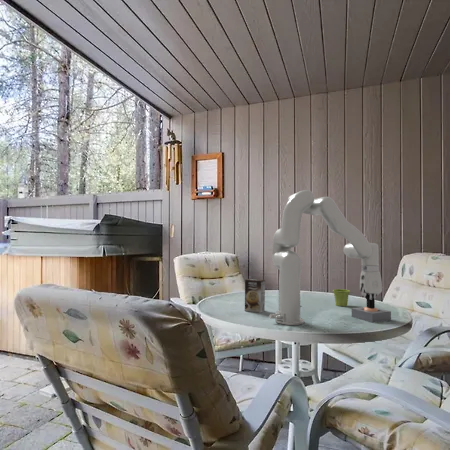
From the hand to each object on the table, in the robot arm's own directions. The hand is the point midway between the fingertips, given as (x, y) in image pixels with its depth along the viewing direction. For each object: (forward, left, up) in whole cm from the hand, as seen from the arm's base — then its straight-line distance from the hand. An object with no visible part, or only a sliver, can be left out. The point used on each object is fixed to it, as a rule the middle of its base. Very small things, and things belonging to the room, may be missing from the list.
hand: (370, 307), depth 149 cm
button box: (0, 0, -5) cm, 5 cm away
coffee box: (-43, +35, -5) cm, 56 cm away
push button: (0, 0, -3) cm, 3 cm away
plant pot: (+10, +29, -5) cm, 31 cm away
